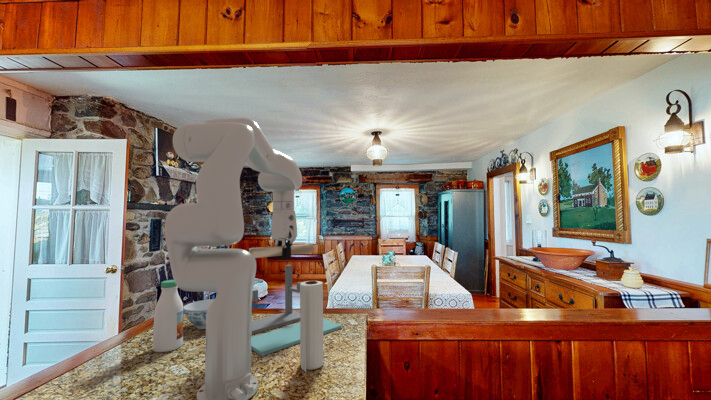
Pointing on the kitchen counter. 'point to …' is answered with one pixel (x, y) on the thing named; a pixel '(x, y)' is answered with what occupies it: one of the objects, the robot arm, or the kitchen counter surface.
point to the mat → (284, 338)
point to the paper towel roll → (311, 325)
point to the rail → (280, 250)
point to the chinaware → (197, 312)
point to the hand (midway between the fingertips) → (283, 258)
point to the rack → (282, 318)
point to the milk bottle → (168, 319)
